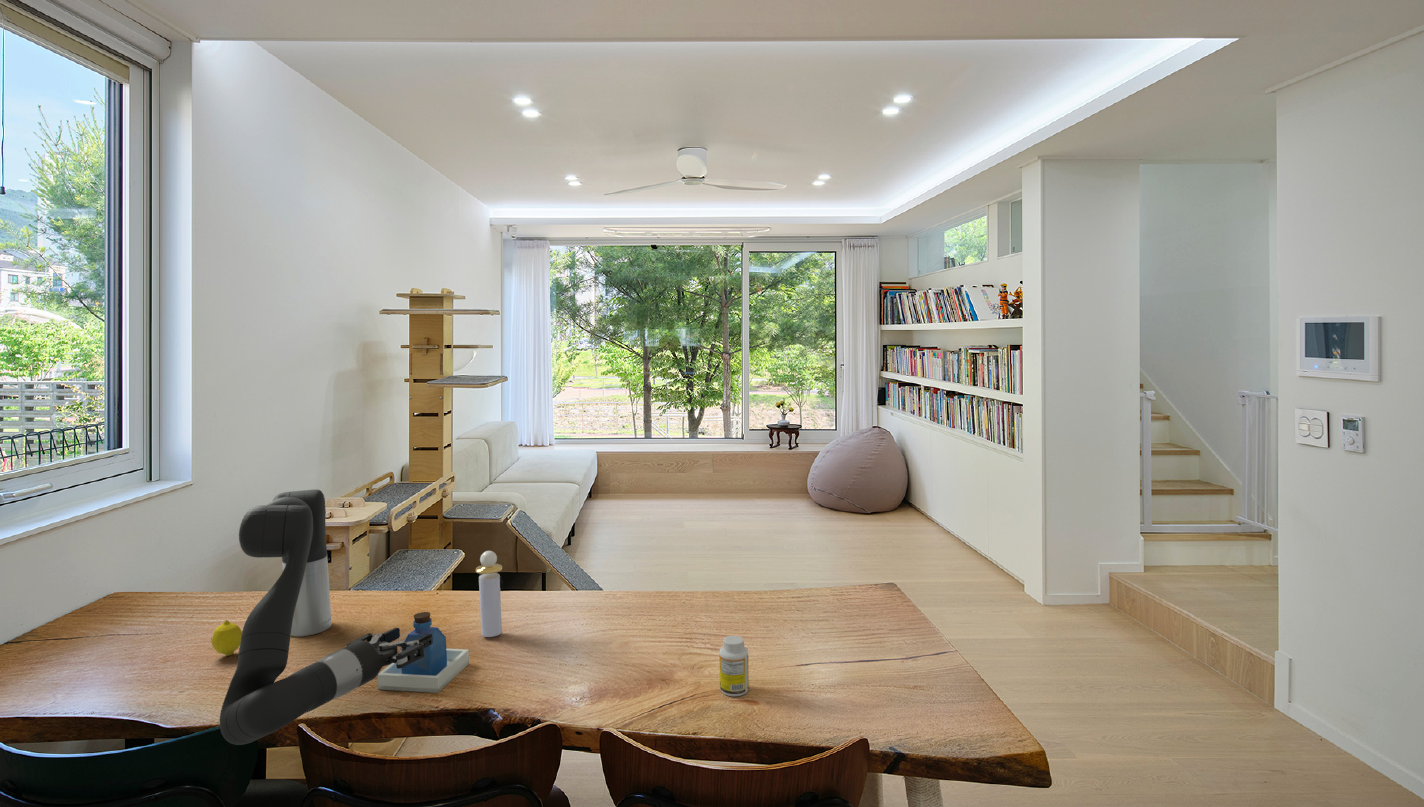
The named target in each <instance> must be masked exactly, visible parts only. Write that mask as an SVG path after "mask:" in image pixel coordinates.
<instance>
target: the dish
mask: <svg viewBox="0 0 1424 807" xmlns="http://www.w3.org/2000/svg"><path fill="white" fill-rule="evenodd" d="M446 651H447V666H446V667H445V668H444V669H443V670H442V671H441V672H440V673H439V674H437V675H436V676H430V675H412V674H402V668H400V669H397V667H396V664H395V663H392V664H390V665H387V666H385V668H384V669H382V670H380V672H379V673H378V675H377V676H376V678H377V690H380V691H381V690H382V691H383V690H385V691H399V692H400V691H401V692H403V691H404V692H418V693H419V692H420V693H431V694H432V693H435V694H439V693H440V692H441V691H442V690H443V689H444V688H446V686H447V685H448V684H450V682H451V681H452V680H454V679H455V678H456V677H457V676H458V675H459V674H460V673H461V672H462V670H464V669H465V668H467V666H468V665H469V664H470V655H469V652H470V651H469V649H463V648H447V647H446Z"/></svg>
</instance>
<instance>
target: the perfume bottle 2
mask: <svg viewBox="0 0 1424 807" xmlns="http://www.w3.org/2000/svg"><path fill="white" fill-rule="evenodd" d="M479 561H480V564H481V565H478V566H477V567H476V568H475V573H477V574H479V576H478V586H479V588H478V589H479V590H478V591H479V608H480V610H479V611H480V633H481V636H482V637H486V638H490V637H491V638H493V637H496V636H499V635H501V634H502V632H503V626H502V625H503V623H502V598H501V595H502V594H501V589H502V591H503V590H504V581H503V579H502V576H500V573H498V572H501V571H502V570H503V565H502V564H500V563H497V561H498V556H497V554H496V552H494V551H492V550H486V551H484V552H482V554H481V555H480V558H479Z"/></svg>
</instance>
